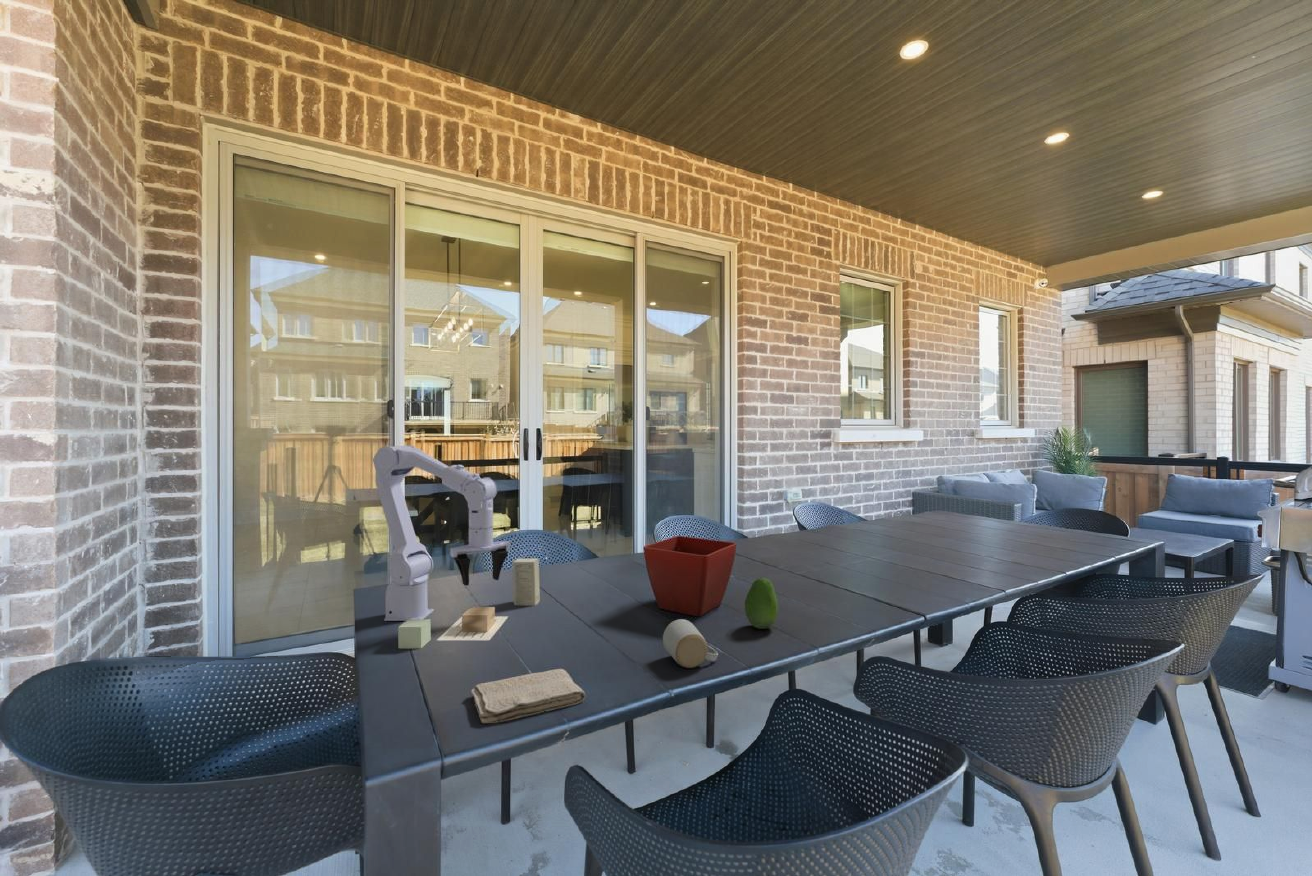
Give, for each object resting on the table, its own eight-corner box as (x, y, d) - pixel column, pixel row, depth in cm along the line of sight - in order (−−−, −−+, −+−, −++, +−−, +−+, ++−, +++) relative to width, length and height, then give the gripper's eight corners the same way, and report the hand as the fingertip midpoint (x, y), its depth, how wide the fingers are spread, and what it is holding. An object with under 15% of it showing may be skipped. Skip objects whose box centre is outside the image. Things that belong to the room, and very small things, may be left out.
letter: (436, 641, 125) (436, 640, 125) (461, 617, 141) (461, 616, 141) (489, 641, 125) (489, 640, 125) (508, 617, 141) (508, 616, 141)
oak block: (461, 632, 130) (461, 615, 130) (470, 623, 136) (470, 607, 136) (487, 632, 130) (487, 615, 130) (494, 623, 136) (494, 607, 136)
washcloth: (469, 699, 99) (468, 682, 99) (565, 677, 108) (565, 662, 108) (481, 730, 89) (481, 711, 89) (586, 704, 97) (586, 686, 97)
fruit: (784, 627, 133) (784, 577, 133) (766, 636, 127) (766, 584, 127) (756, 619, 138) (756, 572, 138) (738, 628, 133) (738, 578, 132)
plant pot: (738, 603, 152) (738, 542, 152) (706, 624, 136) (706, 555, 136) (678, 592, 162) (677, 535, 162) (641, 610, 146) (641, 547, 146)
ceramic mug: (675, 672, 108) (676, 633, 108) (662, 656, 116) (662, 620, 116) (724, 666, 112) (725, 628, 112) (708, 651, 120) (709, 615, 120)
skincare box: (540, 601, 154) (539, 558, 154) (535, 606, 150) (534, 561, 149) (518, 601, 155) (517, 557, 155) (512, 606, 150) (512, 561, 150)
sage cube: (398, 649, 121) (398, 627, 121) (408, 641, 126) (408, 619, 126) (421, 649, 121) (421, 627, 121) (430, 641, 126) (430, 619, 126)
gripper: (457, 533, 129) (457, 590, 130) (515, 526, 139) (515, 580, 139) (447, 528, 135) (447, 584, 135) (503, 522, 144) (503, 574, 144)
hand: (481, 581), depth 137 cm, fingers open, 7 cm apart
